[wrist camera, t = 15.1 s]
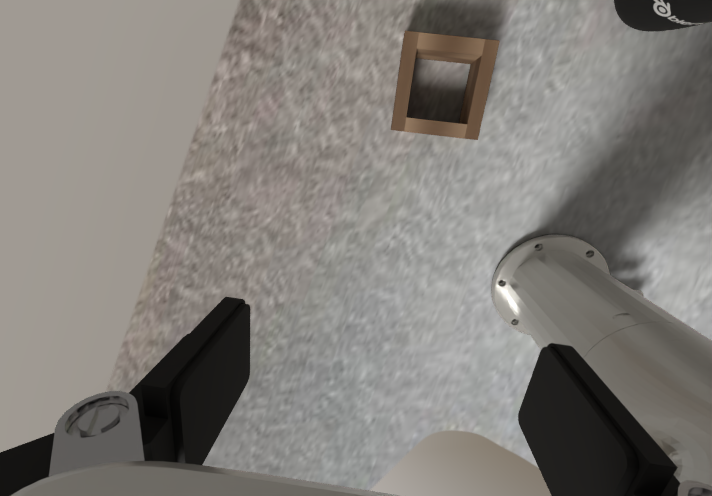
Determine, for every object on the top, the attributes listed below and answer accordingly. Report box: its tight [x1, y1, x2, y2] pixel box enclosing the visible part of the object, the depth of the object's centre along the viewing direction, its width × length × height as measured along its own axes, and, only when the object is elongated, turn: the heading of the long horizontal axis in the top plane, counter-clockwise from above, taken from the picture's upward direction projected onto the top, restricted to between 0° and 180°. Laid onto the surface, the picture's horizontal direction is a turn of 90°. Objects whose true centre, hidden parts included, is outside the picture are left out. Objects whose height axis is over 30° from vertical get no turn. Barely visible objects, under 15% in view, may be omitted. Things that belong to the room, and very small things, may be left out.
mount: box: [391, 31, 499, 140], centre depth 32 cm, size 8×8×4 cm
